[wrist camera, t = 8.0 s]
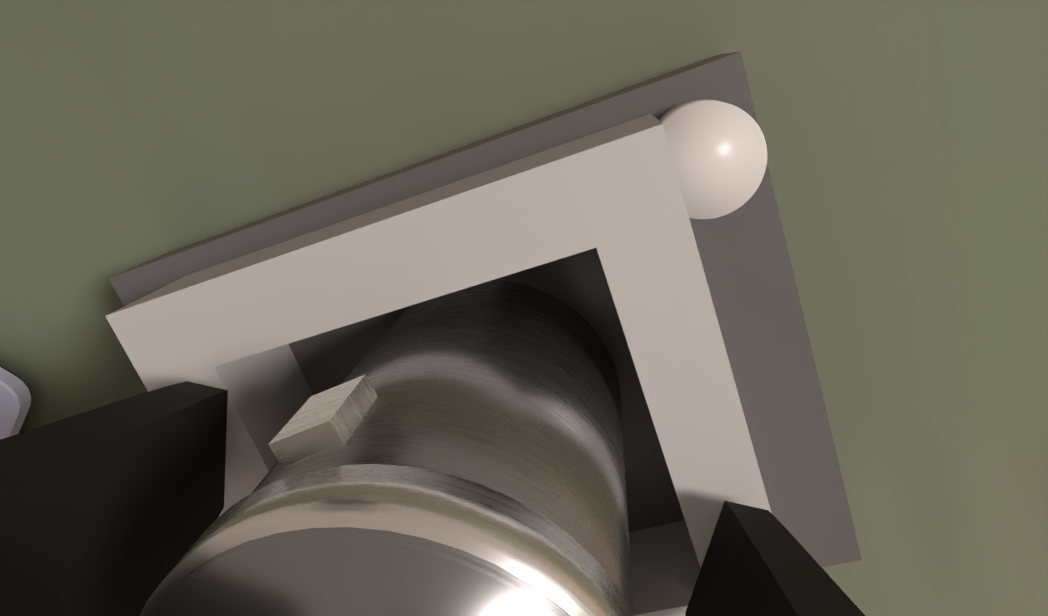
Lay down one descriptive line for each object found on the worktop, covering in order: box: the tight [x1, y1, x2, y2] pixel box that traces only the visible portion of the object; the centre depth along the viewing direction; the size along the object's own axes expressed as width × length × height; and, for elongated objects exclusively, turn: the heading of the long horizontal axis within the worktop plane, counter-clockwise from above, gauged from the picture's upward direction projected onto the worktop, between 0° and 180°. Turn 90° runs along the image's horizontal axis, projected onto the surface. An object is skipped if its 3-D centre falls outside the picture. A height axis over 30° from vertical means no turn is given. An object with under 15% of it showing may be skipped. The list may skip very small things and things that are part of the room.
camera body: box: [105, 52, 861, 616], centre depth 12 cm, size 11×9×4 cm
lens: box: [140, 280, 634, 616], centre depth 9 cm, size 5×5×6 cm
